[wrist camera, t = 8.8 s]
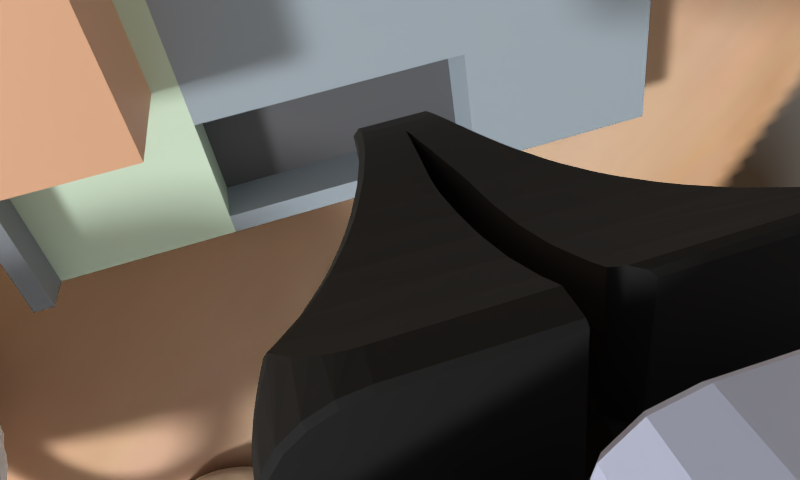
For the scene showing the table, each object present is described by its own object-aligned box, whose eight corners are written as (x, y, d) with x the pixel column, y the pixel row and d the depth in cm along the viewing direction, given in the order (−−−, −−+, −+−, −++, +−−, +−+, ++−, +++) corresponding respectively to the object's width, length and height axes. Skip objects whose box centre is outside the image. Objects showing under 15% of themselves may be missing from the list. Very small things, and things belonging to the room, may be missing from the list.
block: (74, -90, 15) (43, -56, 12) (150, 93, 17) (143, 162, 14) (-136, -44, 14) (-229, 5, 11) (-23, 137, 17) (-71, 219, 14)
